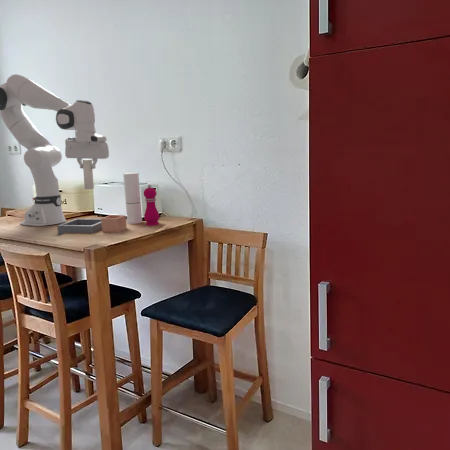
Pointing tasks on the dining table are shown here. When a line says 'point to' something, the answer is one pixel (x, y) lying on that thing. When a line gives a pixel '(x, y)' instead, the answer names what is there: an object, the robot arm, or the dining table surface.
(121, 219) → the pink block with hole
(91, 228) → the tray
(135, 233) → the dining table surface
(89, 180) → the dowel
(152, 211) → the pepper mill
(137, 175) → the cylindrical container
